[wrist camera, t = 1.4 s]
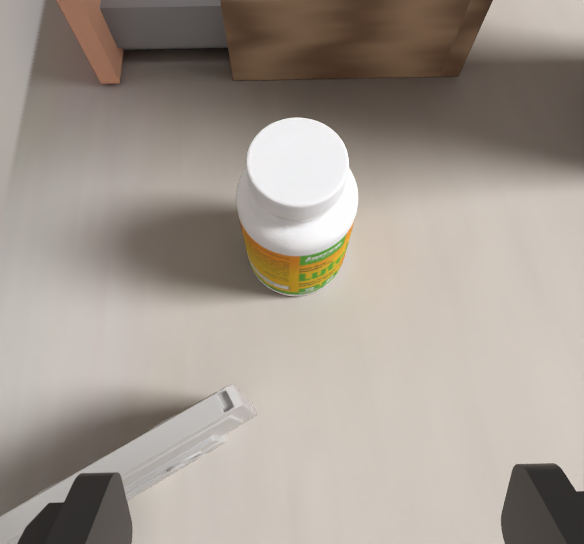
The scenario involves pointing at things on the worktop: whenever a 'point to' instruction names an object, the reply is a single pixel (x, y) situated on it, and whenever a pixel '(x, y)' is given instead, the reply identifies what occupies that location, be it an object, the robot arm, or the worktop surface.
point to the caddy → (350, 37)
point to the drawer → (141, 28)
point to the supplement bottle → (296, 205)
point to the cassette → (148, 454)
